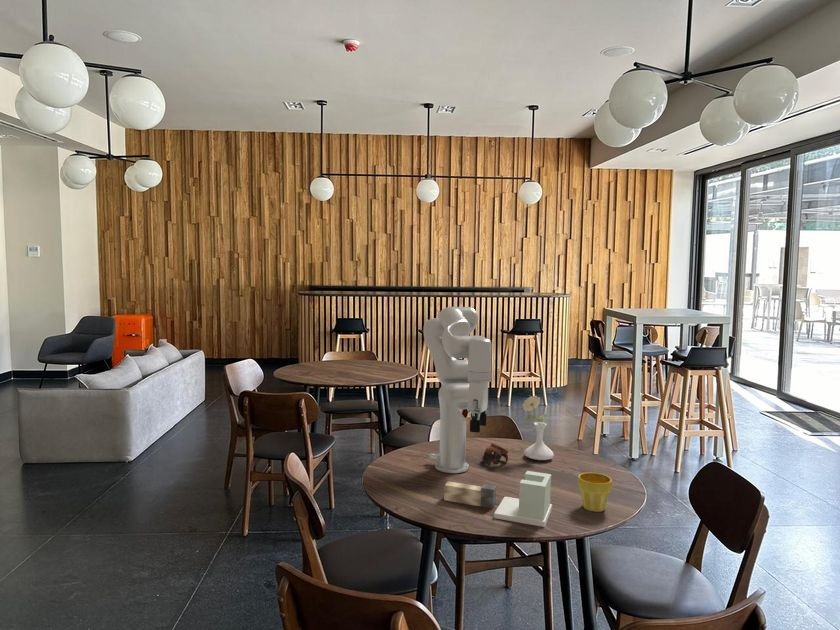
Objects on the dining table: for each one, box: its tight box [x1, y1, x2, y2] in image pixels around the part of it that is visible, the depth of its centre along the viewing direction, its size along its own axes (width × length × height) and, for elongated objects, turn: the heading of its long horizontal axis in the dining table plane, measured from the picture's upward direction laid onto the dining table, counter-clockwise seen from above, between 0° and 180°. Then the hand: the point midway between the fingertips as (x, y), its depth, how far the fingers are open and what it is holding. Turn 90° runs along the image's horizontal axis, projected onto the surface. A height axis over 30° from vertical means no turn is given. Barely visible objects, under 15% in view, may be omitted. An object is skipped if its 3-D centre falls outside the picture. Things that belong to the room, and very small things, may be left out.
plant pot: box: [577, 471, 613, 513], centre depth 188 cm, size 10×10×10 cm
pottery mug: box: [481, 442, 509, 467], centre depth 228 cm, size 12×10×8 cm
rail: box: [443, 480, 497, 509], centre depth 190 cm, size 16×4×6 cm, turn 69°
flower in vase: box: [521, 395, 555, 461], centre depth 235 cm, size 13×11×25 cm
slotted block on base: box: [493, 470, 553, 528], centre depth 183 cm, size 15×14×12 cm
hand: (478, 428), depth 195 cm, fingers open, 9 cm apart
